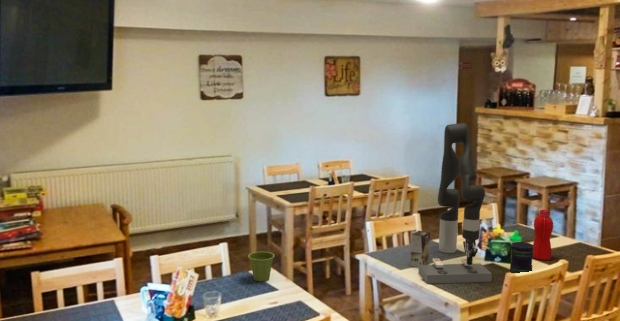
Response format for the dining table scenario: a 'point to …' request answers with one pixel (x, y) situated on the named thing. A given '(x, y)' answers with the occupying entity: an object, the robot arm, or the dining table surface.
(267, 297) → the dining table surface
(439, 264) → the rocker off
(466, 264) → the rocker on
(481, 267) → the switch panel
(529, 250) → the storage jar
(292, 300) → the dining table surface
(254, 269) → the plant pot
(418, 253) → the coffee box
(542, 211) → the water bottle
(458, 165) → the robot arm
